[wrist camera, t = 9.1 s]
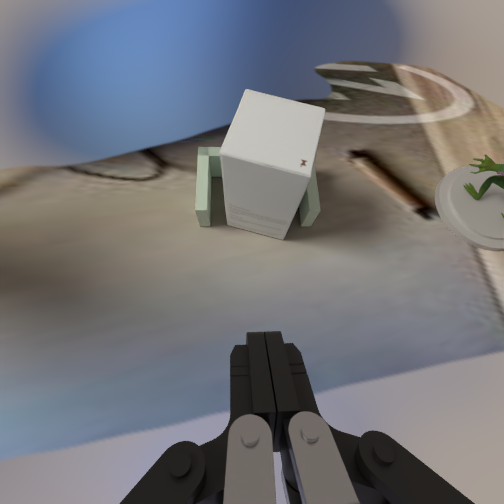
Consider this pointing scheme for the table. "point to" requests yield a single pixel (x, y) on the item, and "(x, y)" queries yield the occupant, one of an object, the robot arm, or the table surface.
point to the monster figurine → (474, 204)
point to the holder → (212, 168)
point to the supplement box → (268, 161)
